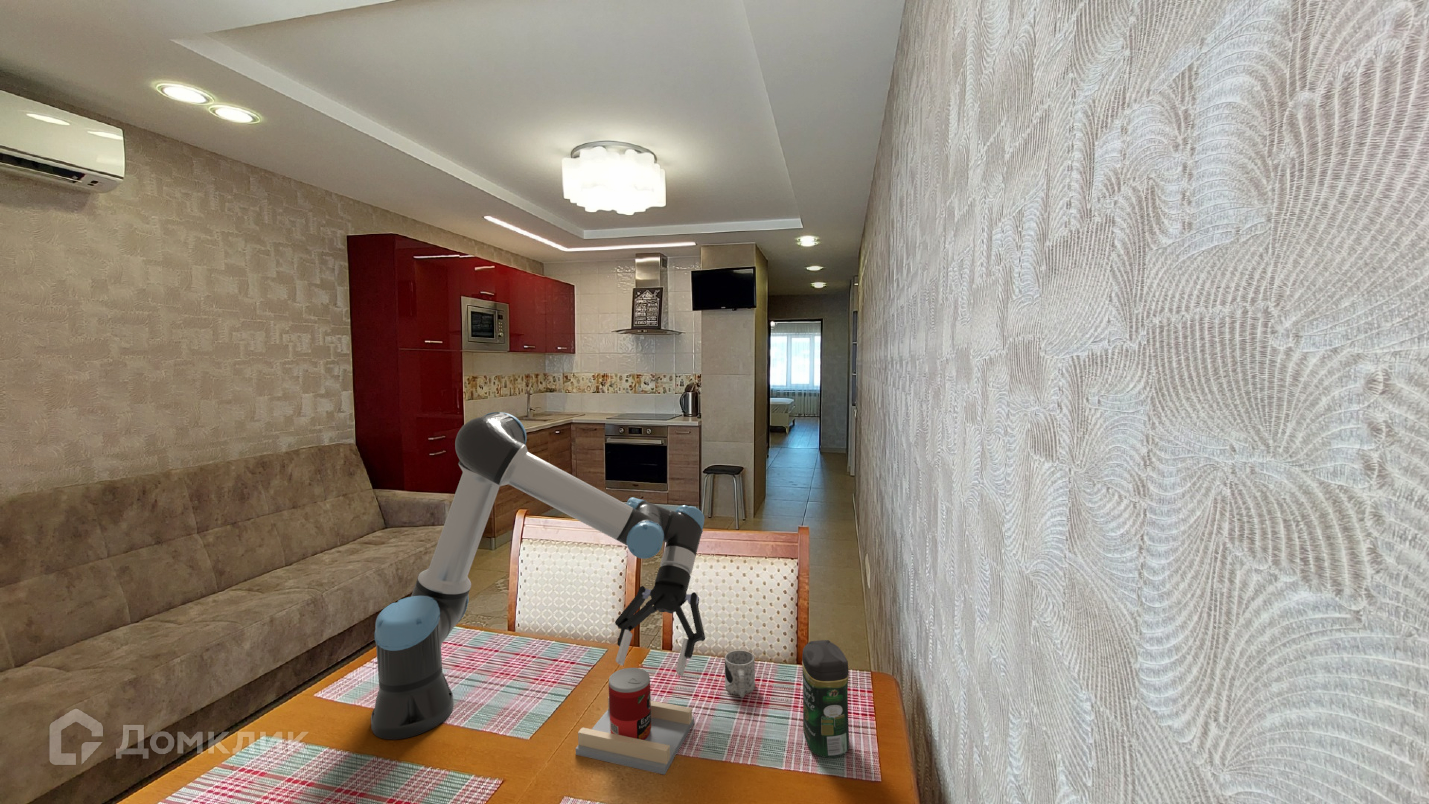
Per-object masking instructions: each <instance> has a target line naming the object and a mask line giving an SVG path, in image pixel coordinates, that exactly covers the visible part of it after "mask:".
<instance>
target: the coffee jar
mask: <svg viewBox="0 0 1429 804" xmlns="http://www.w3.org/2000/svg"><path fill="white" fill-rule="evenodd" d="M801 658H802V659H801V660H802V661H801V663H802V708H803V709H802V718H803V719H802V727H803V729H802V731H803V734H804V738H805V742H806V744H807V746H808V747H809V749H810V750H811V752H812V753H813V754H814V755H816V756H819V757H825V758H838V757H840V756H843V755H844V754H846V753H848V752H849V748H850V730H849V729H850V728H849V699H848V698H849V695H848V694H849V692H848V688H849V678H850V677H849V674H850V671H849V661H848V659H847V657H846V655H845V654H844V652H843V651H842V649H840V647H839V646H837V644H835V643H834V642H831V641H830V640H829V639H826V640H825V639H822V640H820V639H818V640H811V641H809V642H808V643H806V645H804V647H803V649H802V657H801Z"/></svg>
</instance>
